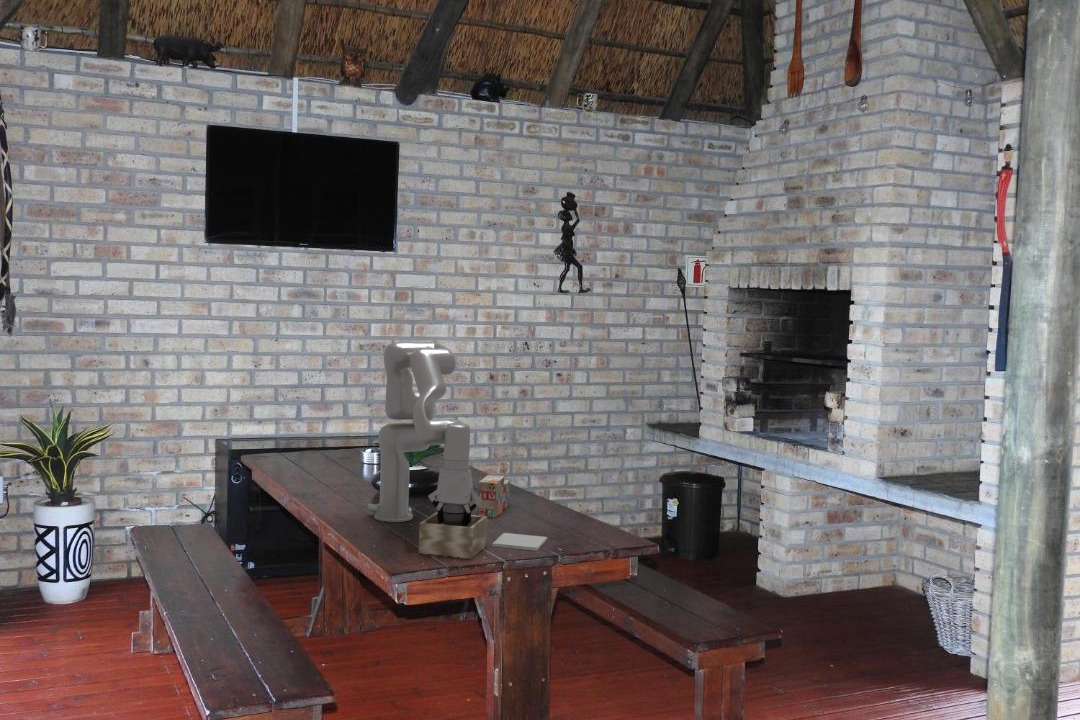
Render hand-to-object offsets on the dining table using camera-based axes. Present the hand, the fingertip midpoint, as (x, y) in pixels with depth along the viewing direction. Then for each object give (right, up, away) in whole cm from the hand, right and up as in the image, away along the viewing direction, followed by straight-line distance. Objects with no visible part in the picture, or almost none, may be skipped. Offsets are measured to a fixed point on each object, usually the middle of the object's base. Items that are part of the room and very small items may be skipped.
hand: (454, 523), depth 321 cm
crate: (0, -8, +1) cm, 8 cm away
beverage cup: (0, -8, +1) cm, 8 cm away
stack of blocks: (+9, -4, +55) cm, 56 cm away
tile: (+19, -8, +12) cm, 24 cm away
